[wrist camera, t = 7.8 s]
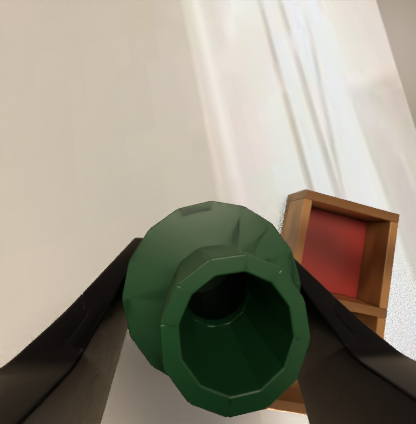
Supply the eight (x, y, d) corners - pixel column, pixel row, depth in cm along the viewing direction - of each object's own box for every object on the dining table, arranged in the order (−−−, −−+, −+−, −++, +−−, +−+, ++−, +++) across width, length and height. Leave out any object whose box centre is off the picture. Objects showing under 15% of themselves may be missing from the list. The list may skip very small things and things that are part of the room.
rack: (343, 395, 19) (372, 426, 16) (252, 380, 18) (265, 409, 16) (369, 216, 21) (399, 214, 18) (288, 194, 20) (305, 189, 17)
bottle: (190, 311, 17) (207, 590, 4) (144, 248, 17) (4, 309, 4) (249, 263, 17) (427, 351, 5) (205, 204, 18) (262, 130, 5)
